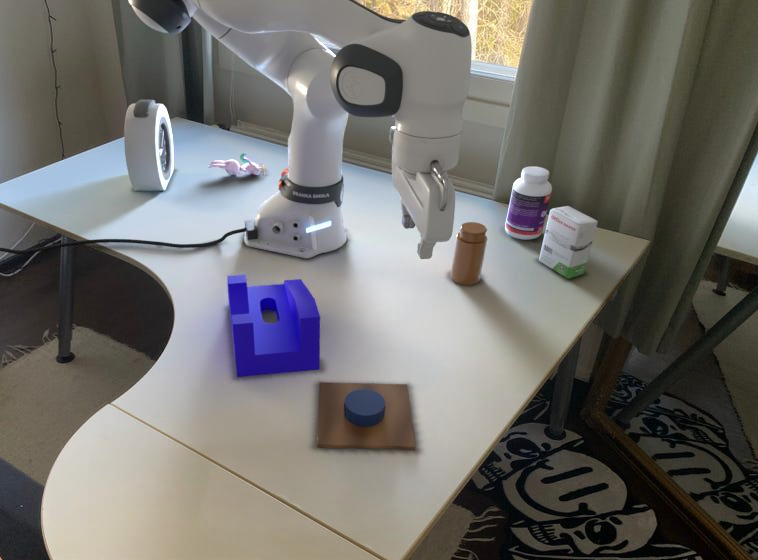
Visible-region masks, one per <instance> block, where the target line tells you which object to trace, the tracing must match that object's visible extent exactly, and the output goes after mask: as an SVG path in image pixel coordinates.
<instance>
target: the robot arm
mask: <svg viewBox="0 0 758 560" xmlns="http://www.w3.org/2000/svg"><path fill="white" fill-rule="evenodd" d="M127 1H128V4H129V6H130V7H132V10H133V11H134V13H135V14H136V16H137V17H138V18H139V19H140V20H141V21H142V22H143V24H145V25H146V26H148V27H149V28H150V29H153V30H155V31H157V32H159V33H164V34H168V35H170V36H172V35H176V34H180V33H181V32H183V30H184V29H186V28H187V26H188V25H189V24H190V23H191V22H192V19H194V21H196V23H198V24H199V25H200V26H201V27H202V28H203V29H204V30H205V31H206V32H207V33H209V35H211V36H212V37H213V38H215V39H216V40H217V41H218V42H220V43H221V44H222V45H224V46H225V47H226V48H227V49H228V50H230V52H231V53H234V54H235V55H236V56H237V57H238V58H240V59H241V60H242V61H243V62H245V63H246V64H247V65H248V66H249V67H251V68H252V69H254V70H256V71H257V72H259V73H260V74H262V75H263V76H265V77H266V78H268V79H269V80H271V81H272V82H273V83H275V84H276V85H277V86H278V87H280V88H281V89H283V90H284V92H286V93H287V94H288V95H289V96H290V97H291V99H292V106H293V115H292V122H291V129H290V134H289V136H288V138H287V161H288V163H287V165H288V166H287V167H288V168H284V169H283V170H282V172H281V173H280V177H279V180H278V181H279V183H277V184H278V191H277V192H276V193H274V194H273V195H271V196H270V197H268V198H266V199H265V200H264V201H263V202H262V203H261V204H260V205H259V207H258V208H257V211H256V214H255V218H254V219H248V220H246V219H245V220H244V227H243V228H237V229H234V230H230V231H227V232H226V233H224V235H222V236H221V237H220V238H218V239H214V240H212V241H209V242H203V243H201V242H200V243H171V242H164V241H154V240H145V239H144V240H143V239H131V238H129V239H128V238H96V239H86V240H84V239H83V240H76V241H68V242H63V243H55V244H51V245H45V246H41V247H36V248H29V249H23V250H22V249H21V250H18V249H11V248H6V247H0V252H4V253H9V254H14V255H26V254H32V253H39V252H43V251H49V250H53V249H59V248H65V247H71V246H79V245H87V244H104V243H105V244H106V243H121V244H122V243H124V244H140V245H150V246H151V245H152V246H161V247H168V248H177V249H192V248H203V247H205V248H206V247H211V246H214V245H217V244H220V243H222V242H224V241H225V240H226V239H227V238H228V237H230V236H232V235H236V234H240V233H244V239H243V241H244V243H245V245H246V246H247V247H249V248H250V247H251V248H255V249H260V250H265V251H269V252H273V253H279V254H284V255H289V256H293V257H298V258H302V259H311V258H313V257H315V256H317V255H320V254H323V253H324V254H325V253H328V252H332V251H335V250H338V249H339V248H341V247H343V246H344V245H345V244H346V243H347V240H348V236H347V232H346V228H345V223H344V217H343V203H344V193H345V183H344V175H343V150H344V149H343V145H344V138H345V132H346V127H347V124H348V118H349V115H350V116H353V117H357V118H358V117H359V118H386V117H392V118H393V119H394V126H391V127H390V128H389V143H390V144H391V147H392V148H391V180H392V185H393V188H394V189H395V191H396V192H397V194H398V196H399V198H400V204H401V205H400V206H401V213H402V214H401V215H402V216H401V224H402V226H403V228H404V229H407V230H409V229H414V228H415V227H416V228H417V231H418V233H419V235H420V242H419V243H417V249H416V250H417V251H416V253H417V255H418V257H419V259H421V260H429V259H431V258H432V257H433V251H434V247H435V246H436V244H437V243H444V242H448V241H450V240H451V237H452V236H453V231H454V221H455V211H456V210H455V209H456V189H455V186H454V184H453V183H452V181H451V180H450V179H449V175H448V171H450V170H452V169H454V168H455V167H457V166H458V163H459V158H460V151H461V143H462V136H463V130H464V122H463V108H464V105H465V102H466V100H467V98H468V94H469V87H470V81H471V80H470V78H471V67H472V53H473V51H472V49H473V48H472V45H473V44H472V36H471V32H470V29H469V27H468V26H467V24H466V23H464V22H463V21H462V20H461V19H459V18H458V17H456V16H453V15H451V14H448V13H445V12H441V11H431V10H423V11H422V10H421V11H417V12H415V13H413V14H411V15H410V16H409V17H408V18H407V19H399V18H393V17H392V18H391V17H388V16H385V15H382V14H381V13H378V12H376V11H374V10H373V9H372V8H369V7H367V6H366V5H364V4H362V3H360V2H359V1H357V0H127ZM315 36H318V37H320V38H322V39H324V40H326V41H328V42H329V43H331V44H333V45H334V46H336V47H338V48H340V49H339V50H338V52H337V53H336V54H334V53H333V52H332V51H331V50H330V49H329V48H328V47H327V46H325V45H324V44H323V43H322V42H320V41H319V40H318V38H317V37H315Z"/></svg>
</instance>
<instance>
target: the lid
mask: <svg viewBox="0 0 758 560" xmlns="http://www.w3.org/2000/svg"><path fill="white" fill-rule="evenodd" d="M344 414H345V417H346V419H347V420H348V421H349V422H351V423H352V424H354V425H357V426H361V427H370V426H374V425H376V424H378V423H380V422H381V421H382V419H383V418H384V414H385V400H384V398H383V397H382V395H380V394H379V393H378V392H376V391H373V390H369V389H358V390H354V391H352V392H350V393H349V394H348V395H347V396H346V398H345V403H344Z"/></svg>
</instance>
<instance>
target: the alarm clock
mask: <svg viewBox="0 0 758 560" xmlns="http://www.w3.org/2000/svg"><path fill="white" fill-rule="evenodd" d="M169 115H170V114H169V113H168V109H167V107H166V106H165V104H163V103H156V100H155V99H138V100H137V102H135V103H131V104H130V105H128V107H127V110H126V114H125V118H124V128H123V143H124V154H125V155H124V157H125V163H126V168H127V169H126V170H127V174H128V178H129V180H130V183H131V186H132V187H133V189H134V191H136V192H137V191H139V192H141V191H143V192H144V191H146V192H147V191H149V192H150V191H151V192H154V191H155V192H156V191H157V192H158V191H159V192H161V191H162V192H164V191H166V189H167V188H168V187H167V186H168V184H169V182H170V180H171V178H172V176H173V173H174V167H175V166H174V165H175V161H174V160H175V155H174V152H175V151H174V138H173V131H172V125H171V120H170V116H169Z"/></svg>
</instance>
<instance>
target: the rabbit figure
mask: <svg viewBox="0 0 758 560" xmlns="http://www.w3.org/2000/svg"><path fill="white" fill-rule="evenodd" d="M245 156H247V154H246V153H241V154H240V155H239V159H240V161H241V162H243V164H242V166H241V164H240V163H239V161H238V160H236V159H228V160H227V159H226V160H221V159H217V160H216V159H215V160H213V161H211V162H210V163H208V165H207V166H208V168H209V169H210V168H220V169H222V170H225V172H226V173H227V174H230V175H232V176H237V175H239V174H240V171H242V172H243V173H245V174H252V175H254V176H258V175H260V174H261V171H263V173H264V175H266V174H267V168H266V164H264V165H263V164H262V163H259V164H257V163H256V162H252V161H251V160H250V159H249V158H248V157H245Z"/></svg>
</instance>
